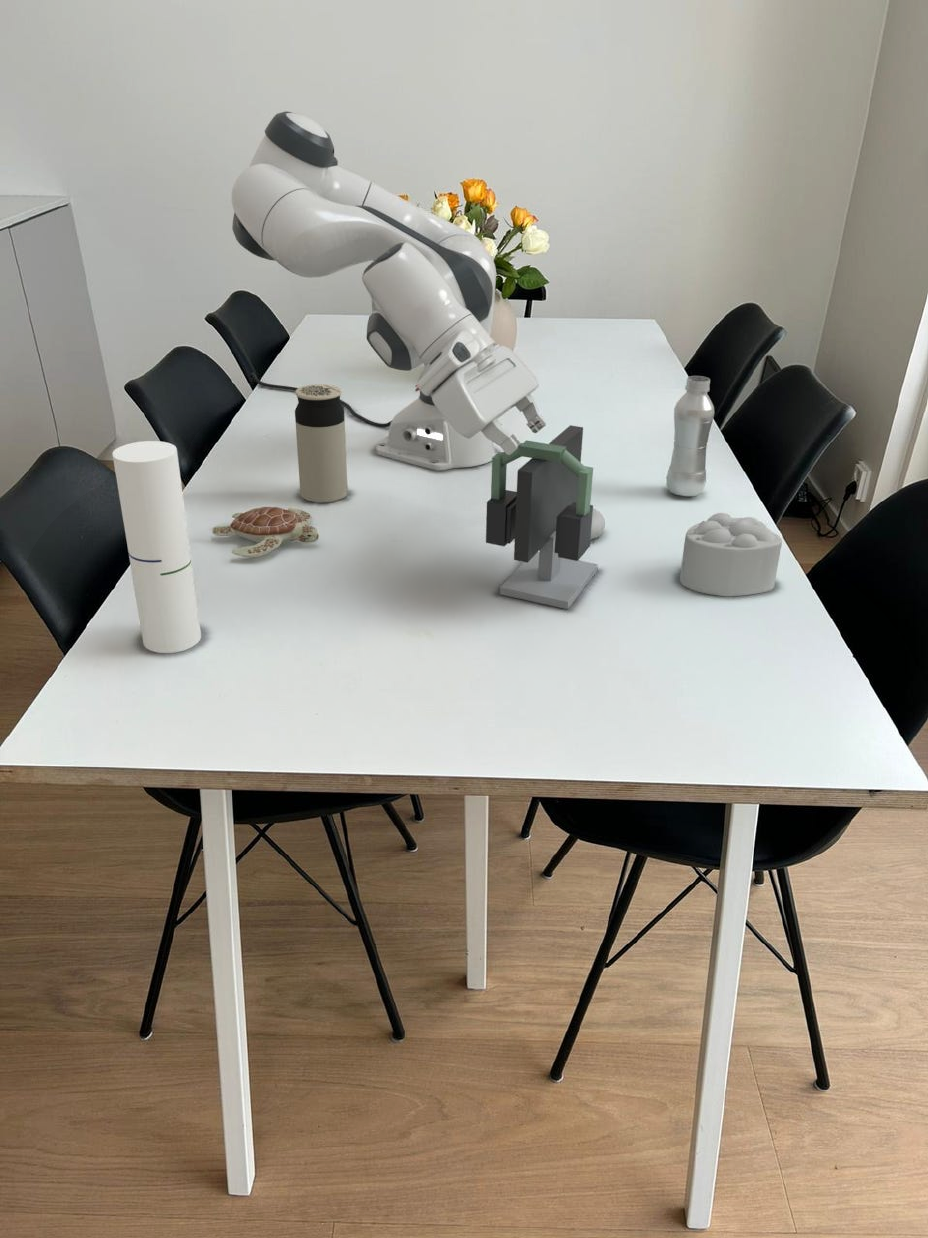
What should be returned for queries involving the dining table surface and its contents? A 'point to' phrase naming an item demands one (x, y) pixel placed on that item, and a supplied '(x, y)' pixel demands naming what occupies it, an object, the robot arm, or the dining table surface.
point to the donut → (597, 524)
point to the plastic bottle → (691, 438)
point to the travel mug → (321, 443)
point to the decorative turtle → (269, 529)
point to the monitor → (546, 530)
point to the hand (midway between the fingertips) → (528, 439)
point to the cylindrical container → (158, 544)
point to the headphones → (570, 522)
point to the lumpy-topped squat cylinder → (730, 556)
